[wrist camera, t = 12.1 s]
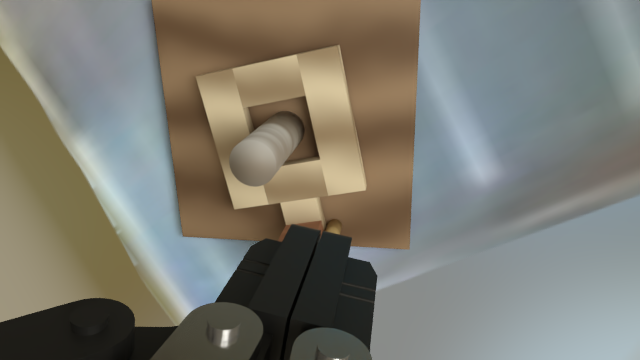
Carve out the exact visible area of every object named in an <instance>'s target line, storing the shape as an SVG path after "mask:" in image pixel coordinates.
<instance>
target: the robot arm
mask: <svg viewBox="0 0 640 360" xmlns="http://www.w3.org/2000/svg"><path fill="white" fill-rule="evenodd" d="M320 236H321V238H320ZM351 241H352V237H348V236H344V235H340V234H335V233H331V232H327V231H323V232H322V235H321V230H318V229H313V228H309V227H305V226H300V225H296V224H291V226H290V228H289V229H288V231H287V233H286V235H285V237H284V239H283V241H282V242H280V241H276V240H272V239H268V238H265V239H263V240H262V241H260V242H258V243H256V244H254V245H252V246H251V247H250V249H249V250H248V252H247V253H246V255H245V256H244V258H243V260H242V261H241V263H240V264H239V266H238V267H237V270H235V272H234V273H233V275H232V277H231V278H230V280H229V281H228V283H227V284H226V286H225V287H224V289H223V290H222V292H221V294H220V295H219V297H218V298H217V300H216V301H215V303H210V304H206V305H203V306H200V307H198V308H196V309H195V310H193V311H192V312H191V313H190V314H188V315H187V317H186V318H185V319H184V320H183V321H182V322H181V324H180V325H179V326H174V327H135V318H134V314H133V312H132V311H131V310H130V309H129V307H128V306H126V305H125V304H123V303H121V302H119V301H115V300H111V299H105V298H90V299H83V300H79V301H75V302H71V303H68V304H64V305H60V306H57V307H53V308H50V309H47V310H43V311H39V312H36V313H32V314H28V315H25V316H21V317H18V318H15V319H11V320H7V321H4V322H0V360H372V357H371V354H370V342H371V331H372V322H373V312H374V301H375V291H376V283H377V275H376V273H375V271H374V269H373V267H372V266H371V264H370V262H366V261H362V260H358V259H353V258H349V257H348V255H349V250H350V246H351Z"/></svg>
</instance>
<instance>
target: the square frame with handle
mask: <svg viewBox="0 0 640 360" xmlns="http://www.w3.org/2000/svg"><path fill="white" fill-rule="evenodd" d="M196 80H197V83H198V86H199V90H200V93H201V97H202V100H203V104H204V107H205V110H206V114H207V117H208V121H209V124H210V128H211V131H212V134H213V138H214V141H215V145H216V148H217V152H218V155H219V158H220V162H221V165H222V169H223V172H224V176H225V179H226V182H227V186H228V189H229V193H230V196H231V200H232V203H233V206H234V209H241V208H248V207H255V206H262V205H269V204H275V203H280V204H281V208H282V212H283V215H284V219H285V223H286V226H285V228H284V230H283V232H282V233H281V235H280V237H279V239H278V241H280V242H282V241H283V239H284V237H285V235H286V233H287V231H288V229H289V228H290V226H291V224H296V225H300V226H305V227H309V228H313V229H318V230H321V235H322V232H323V231H326V228H327V226H326V222H325V218H324V213H323V209H322V205H321V200H320V197H324V196H330V195H337V194H344V193H351V192H358V191H365V190H366V187H367V183H366V178H365V172H364V167H363V162H362V157H361V152H360V147H359V142H358V137H357V132H356V127H355V122H354V117H353V112H352V107H351V102H350V97H349V91H348V86H347V81H346V76H345V71H344V66H343V61H342V56H341V51H340V46H339V45H335V46H330V47H326V48H321V49H317V50H312V51H308V52H303V53H298V54H294V55H289V56H285V57H280V58H275V59H271V60H266V61H262V62H257V63H253V64H248V65H243V66H239V67H234V68H230V69H225V70H220V71H216V72H211V73H207V74H202V75H199V76H196ZM302 96H306V99H307V104H308V108H309V113H310V117H311V121H312V126H313V130H314V135H315V139H316V144H317V148H318V152H319V156H316V157H310V158H304V159H298V160H292V161H286V162H284V164H283V165H282V166H281V168H280V169H279V170H278V171H277V173H276V174H275V175H274V177H273V178H272V179H271V180H270V181H269V182H268V183H266V184H265V185H262V186H257V187H253V186H248V185H245V184H243V183H241V182H240V181H239V180H237V178H236V177H235V176H234V175H233V173H232V171H231V169H230V165H229V157H230V154H231V151H232V150H233V148H234V147H235V146H236V145H237V144H238V143H240V142H241V141H242V140H243V139H245V138H246V137H247V136H248V135H250V134H251V133H252V132H253V131H254V127H253V124H252V120H251V116H250V112H249V108H248V107H251V106H256V105H261V104H266V103H271V102H276V101H282V100H287V99H292V98H297V97H302ZM320 238H321V236H320Z"/></svg>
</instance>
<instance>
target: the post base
mask: <svg viewBox="0 0 640 360" xmlns="http://www.w3.org/2000/svg"><path fill="white" fill-rule="evenodd" d="M420 2H421V0H152V7H153V15H154V22H155V30H156V37H157V45H158V52H159V60H160V67H161V75H162V83H163V90H164V98H165V105H166V113H167V120H168V128H169V135H170V143H171V150H172V158H173V166H174V173H175V181H176V188H177V196H178V203H179V211H180V218H181V226H182V233H183V236H184V237H202V238H219V239H236V240H254V241H262V240H263V239H265V238H268V239H272V240H276V241H278V239H279V237H280V235H281V233H282V232H283V230H284V228H285V226H286V223H285V219H284V215H283V212H282V208H281V204H280V203H275V204H269V205H262V206H255V207H248V208H241V209H234V206H233V203H232V200H231V196H230V193H229V189H228V186H227V182H226V179H225V176H224V172H223V169H222V165H221V162H220V158H219V155H218V152H217V148H216V145H215V141H214V138H213V134H212V131H211V128H210V124H209V121H208V117H207V114H206V110H205V107H204V104H203V100H202V97H201V93H200V90H199V86H198V83H197V80H196V76H199V75H202V74H207V73H211V72H216V71H220V70H225V69H230V68H234V67H239V66H243V65H248V64H253V63H257V62H262V61H266V60H271V59H275V58H280V57H285V56H289V55H294V54H298V53H303V52H308V51H312V50H317V49H321V48H326V47H330V46H335V45H339V46H340V51H341V56H342V61H343V66H344V71H345V76H346V81H347V86H348V91H349V97H350V102H351V107H352V112H353V117H354V122H355V127H356V132H357V137H358V142H359V147H360V152H361V157H362V162H363V167H364V172H365V178H366V183H367V187H366V190H365V191H358V192H351V193H344V194H337V195H330V196H324V197H320V200H321V205H322V209H323V213H324V218H325V222H326V226H327V228H326V231H327V232H331V233H335V234H340V235H344V236H348V237H352V241H351V246H359V247H376V248H394V249H409V246H410V224H411V201H412V179H413V157H414V135H415V113H416V91H417V69H418V47H419V25H420ZM248 108H249V112H250V116H251V120H252V124H253V127H254V131H253V132H252V133H251V134H250V135H248V136H247V137H246V138H245V139H243V140H242V141H241V142H240V143H238V144H237V145H236V146H235V147H234V148H233V150H232V151H231V154H230V157H229V165H230V169H231V171H232V173H233V175H234V176H235V177H236V178H237V180H239V181H240V182H241V183H243V184H245V185H248V186H253V187H257V186H262V185H265V184H266V183H268V182H269V181H270V180H271V179H272V178H273V177H274V175H275V174H276V173H277V171H278V170H279V169H280V168H281V166H282V165H283V164H284V162H286V161H292V160H298V159H304V158H310V157H316V156H319V152H318V148H317V144H316V139H315V135H314V130H313V126H312V121H311V117H310V113H309V108H308V104H307V99H306V96H302V97H297V98H292V99H287V100H282V101H276V102H271V103H266V104H261V105H256V106H251V107H248Z"/></svg>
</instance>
